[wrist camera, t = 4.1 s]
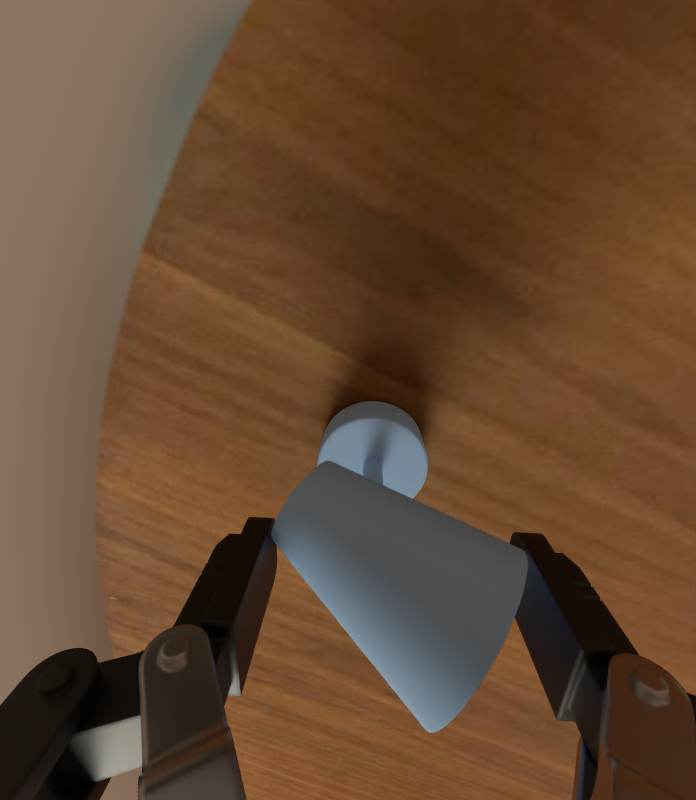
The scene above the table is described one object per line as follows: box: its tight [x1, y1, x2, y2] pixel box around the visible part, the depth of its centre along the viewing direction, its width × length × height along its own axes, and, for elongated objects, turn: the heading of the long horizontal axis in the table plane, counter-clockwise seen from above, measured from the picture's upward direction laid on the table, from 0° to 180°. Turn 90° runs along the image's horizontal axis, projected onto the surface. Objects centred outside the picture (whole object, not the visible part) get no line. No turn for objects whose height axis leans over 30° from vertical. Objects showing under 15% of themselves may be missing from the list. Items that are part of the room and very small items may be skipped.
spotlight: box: [271, 401, 528, 733], centre depth 12 cm, size 5×10×7 cm
